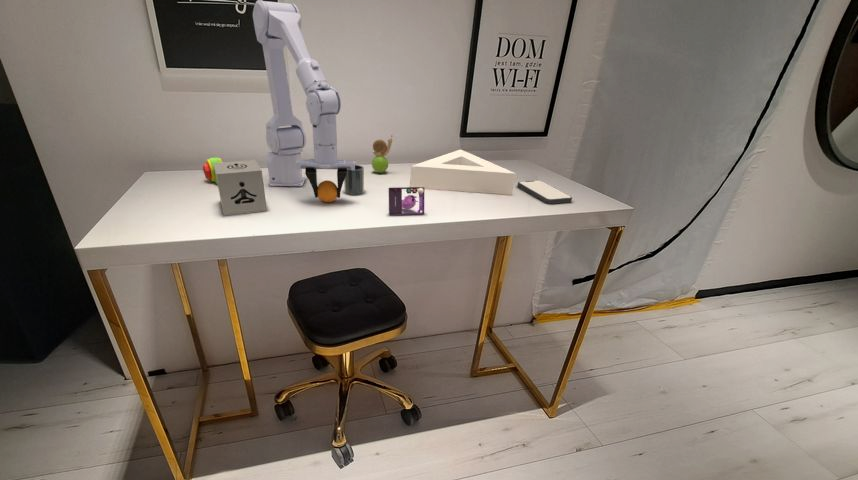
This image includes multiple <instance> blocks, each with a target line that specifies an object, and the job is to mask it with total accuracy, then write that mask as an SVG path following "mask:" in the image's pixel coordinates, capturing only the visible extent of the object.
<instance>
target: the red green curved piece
mask: <svg viewBox="0 0 858 480" xmlns="http://www.w3.org/2000/svg"><path fill="white" fill-rule="evenodd" d="M218 162H223V160H222V159H221V158H220V157H209V158H208V159H206V160H205V163H204V164H202V171H203V174H204V176H205V178H206V179H208V180H210V181H211V182H212V183H213V182H214V183H215V184H216V185H217V186H218V184H217V179H216V174H215V169H214V164H213V163H218Z"/></svg>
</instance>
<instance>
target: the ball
mask: <svg viewBox="0 0 858 480" xmlns="http://www.w3.org/2000/svg"><path fill="white" fill-rule="evenodd" d="M317 186H318V187H317V195H318V199H319V200H320V201H322V202H324V203H332V202H334V201H335V200H337V190H338V185H336V183H335V182H334V181H332V180H322V181H321V182H319V184H317Z"/></svg>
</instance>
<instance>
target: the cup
mask: <svg viewBox="0 0 858 480" xmlns="http://www.w3.org/2000/svg"><path fill="white" fill-rule="evenodd" d="M364 173H365V167H364V166H362V165H359V164H355V170H347V175H346V177H345V180H344V182H343V184H344V193H345V194H346V195H349V196H360V195H363V194H364V190H365V189H364V185H365V181H364V180H365V179H364V178H365V174H364Z"/></svg>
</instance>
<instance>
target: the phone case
mask: <svg viewBox="0 0 858 480" xmlns="http://www.w3.org/2000/svg"><path fill="white" fill-rule="evenodd" d="M516 186H517V187H518V188H519V189H521V190H522V191H524V192H526V193H528V194H529V195H531V196H532V197H534V198H535V199H538V200H540V201H541V202H543V203H544V204H546V205H547V204H548V205H556V204H566V203H571V202H572V200H573V197H572V196H571V195H569V194H567V193H565V192H563V191H561V190H559V189H557V188H555V187H554V186H552V185H550V184H548V183H547V182H544V181H543V180H538V179H537V180H523V181H518V182H517V185H516Z"/></svg>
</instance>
